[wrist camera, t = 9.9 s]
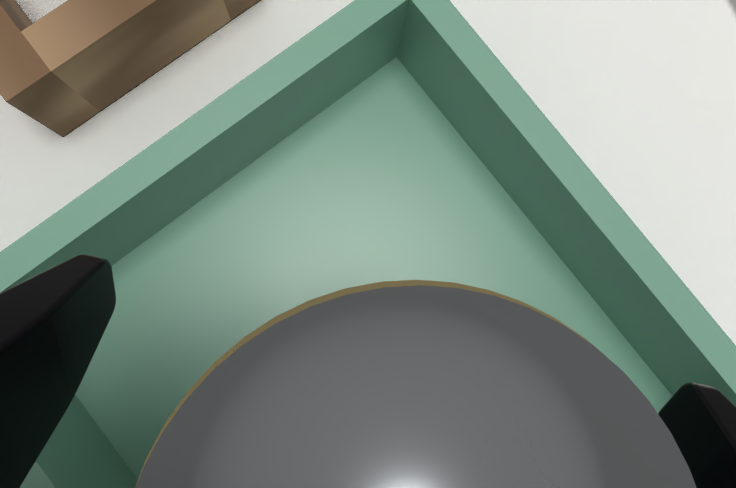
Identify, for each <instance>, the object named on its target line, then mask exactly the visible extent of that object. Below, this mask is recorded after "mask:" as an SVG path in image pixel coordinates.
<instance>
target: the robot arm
mask: <svg viewBox="0 0 736 488" xmlns="http://www.w3.org/2000/svg"><path fill="white" fill-rule="evenodd" d="M115 305H116V292H115V285H114V278H113V271H112V266H111V263H110V262H109V260H107V259H105V258H101V257H96V256H91V255H86V254H81V255H77V256H75V257H73V258H71V259H69V260H67V261H65V262H63V263H61V264H59V265H56V266H54V267H52V268H50V269H48V270H46V271H44V272H42V273H40V274H38V275H36V276H34V277H32V278H30V279H28V280H26V281H24V282H22V283H20V284H18V285H16V286H14V287H12V288H10V289H8V290H5V291H3V292H1V293H0V488H20V486H21V485H22V483H23V481H24V480H25V478H26V476H27V475H28V473H29V471H30V470H31V468H32V467H33V465H34V463H35V462H36V460H37V458H38V457H39V455H40V453H41V452H42V450H43V448H44V447H45V445H46V443H47V442H48V440H49V439H50V437H51V435H52V434H53V432H54V430H55V429H56V427H57V425H58V424H59V422H60V420H61V419H62V417H63V415H64V414H65V412H66V410H67V409H68V407H69V405H70V403H71V402H72V400H73V398H74V396H75V394H76V392H77V390H78V388H79V386H80V384H81V381H82V379H83V377H84V375H85V373H86V371H87V368H88V366H89V364H90V362H91V360H92V358H93V355H94V353H95V351H96V349H97V347H98V345H99V342H100V340H101V338H102V336H103V334H104V332H105V329H106V327H107V325H108V323H109V321H110V319H111V316H112V314H113V312H114V309H115ZM658 415H659V416H660V417H661V419H662V420H663V422H664V423H665V425H666V426H667V428H668V429H669V431H670V432H671V434H672V436H673V438H674V440H675V441H676V443H677V445H678V447H679V449H680V451H681V453H682V455H683V457H684V459H685V461H686V463H687V465H688V467H689V469H690V471H691V474H692V477H693V479H694V482H695V485H696V487H697V488H736V407H735V406H734V405H733V404H732V403H731V402H730V401H729V400H728V399H727V398H726V397H725V396H724V395H723V394H722V393H721V392H720V391H719V390H717V389H716V388H714V387H711V386H707V385H702V384H698V383H693V382H687V383H685V384H683V385H682V386H681V387H680V388H679V389H678V390H677V391H676V392H675V393H674V395H673V396H672V397H671V398H670V399H669V400H668V401H667V403H666V404H665V405H664V406H663V407H662V408H661V410H660V411H659V413H658Z"/></svg>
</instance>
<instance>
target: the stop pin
mask: <svg viewBox="0 0 736 488" xmlns="http://www.w3.org/2000/svg"><path fill="white" fill-rule="evenodd" d="M135 488H697V487H696V485H695V482H694V479H693V477H692V474H691V471H690V469H689V467H688V465H687V463H686V461H685V459H684V457H683V455H682V453H681V451H680V449H679V447H678V445H677V443H676V441H675V440H674V438H673V436H672V434H671V432H670V431H669V429H668V428H667V426H666V425H665V423H664V422H663V420H662V419H661V417H660V416H659V415H658V413H657V412H656V410H655V409H654V407H653V406H652V404H651V403H650V401H649V400H648V399H647V398H646V397H645V396H644V394H643V393H642V392H641V391H640V390H639V389H638V388H637V386H636V385H635V384H634V383H633V382H632V381H631V380H630V379H629V377H628V376H627V375H626V374H625V373H624V372H623V371H622V370H621V369H620V368H619V367H618V366H616V365H615V364H614V363H613V362H612V361H611V360H610V359H609V358H607V357H606V356H605V355H604V354H603V353H602V352H601V351H599V350H598V349H597V348H596V347H595V346H594V345H592V344H591V343H590V342H589V341H588V340H587V339H585V338H584V337H583V336H581V335H580V334H578V333H577V332H575V331H574V330H572V329H571V328H569V327H568V326H566V325H565V324H563V323H562V322H560V321H559V320H557V319H556V318H554V317H552V316H550V315H548V314H546V313H544V312H542V311H540V310H538V309H536V308H534V307H532V306H530V305H528V304H526V303H524V302H522V301H519V300H517V299H514V298H511V297H508V296H505V295H502V294H499V293H497V292H494V291H491V290H488V289H483V288H478V287H473V286H469V285H464V284H459V283H454V282H443V281H430V280H401V281H383V282H376V283H371V284H366V285H360V286H355V287H350V288H345V289H342V290H339V291H336V292H333V293H329V294H326V295H323V296H320V297H317V298H314V299H311V300H309V301H307V302H305V303H302V304H300V305H298V306H296V307H294V308H292V309H290V310H288V311H286V312H284V313H282V314H280V315H277V316H275V317H274V318H272V319H271V320H269V321H268V322H266V323H265V324H263V325H262V326H260V327H259V328H257V329H256V330H254V331H252V332H251V333H249V334H248V335H246V336H245V337H243V338H242V339H241V340H240V341H239V342H237V343H236V344H235V345H234V346H233V347H232V348H230V349H229V350H228V351H227V352H226V353H225V354H223V355H222V356H221V357H220V358H219V359H217V360H216V361H215V362H214V363H213V364H212V365H211V366H210V367H209V369H208V370H207V371H206V372H205V373H204V374H203V375H202V376H201V377H200V378H199V379H198V381H197V382H196V383H195V384H194V385H193V386H192V387H191V388H190V389H189V390H188V392H187V393H186V394H185V396H184V397H183V399H182V400H181V401H180V403H179V404H178V406H177V407H176V409H175V410H174V411H173V413H172V414H171V416H170V417H169V418H168V420H167V421H166V423H165V424H164V426H163V428H162V430H161V432H160V434H159V435H158V437H157V439H156V441H155V443H154V445H153V447H152V448H151V450H150V452H149V454H148V456H147V458H146V460H145V462H144V465H143V467H142V470H141V473H140V475H139V478H138V480H137V483H136V486H135Z"/></svg>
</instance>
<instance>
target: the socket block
mask: <svg viewBox="0 0 736 488" xmlns="http://www.w3.org/2000/svg"><path fill="white" fill-rule="evenodd" d="M258 1H260V0H68V1H66V2H65V3H63V4H62V5H60V6H59V7H57V8H56V9H54V10H53V11H51V12H50V13H48V14H47V15H45V16H44V17H42V18H41V19H39V20H38V21H36V22H35V23H32V22H31V21H30V19H29V18H28V17H27V15H26V14H25V13H24V11H23V10H22V9H21V8H20V6H19V5H18V4H17V2H16V1H15V0H0V94H1V96H2V97H3V98H4V100H5V101H6V102H7V103H9V104H11V105H12V106H14V107H16V108H17V109H19V110H20V111H22V112H24V113H25V114H27V115H28V116H30V117H32V118H33V119H35V120H36V121H38V122H40V123H41V124H43V125H45V126H46V127H48V128H49V129H51V130H53V131H54V132H56V133H57V134H59V135H61V136H62V137H64V136H65V135H67V134H68V133H69V132H71V131H72V130H74V129H75V128H77V127H78V126H80V125H81V124H82V123H84V122H85V121H87V120H88V119H90V118H91V117H93V116H94V115H95V114H97V113H98V112H100V111H101V110H103V109H104V108H106V107H107V106H108V105H110V104H111V103H113V102H114V101H116V100H117V99H118V98H120V97H121V96H123V95H124V94H126V93H127V92H129V91H130V90H131V89H133V88H134V87H136V86H137V85H139V84H140V83H142V82H143V81H144V80H146V79H147V78H149V77H150V76H152V75H153V74H155V73H156V72H157V71H159V70H160V69H162V68H163V67H165V66H166V65H168V64H169V63H170V62H172V61H173V60H175V59H176V58H178V57H179V56H181V55H182V54H183V53H185V52H186V51H188V50H189V49H191V48H192V47H193V46H195V45H196V44H198V43H199V42H201V41H202V40H204V39H205V38H206V37H208V36H209V35H211V34H212V33H214V32H215V31H217V30H218V29H219V28H221V27H222V26H224V25H225V24H227V23H228V22H230V21H231V20H232V19H234V18H235V17H237V16H238V15H240V14H241V13H243V12H244V11H245V10H247V9H248V8H250V7H251V6H253V5H254V4H255V3H257V2H258Z"/></svg>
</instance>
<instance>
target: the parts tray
mask: <svg viewBox="0 0 736 488" xmlns="http://www.w3.org/2000/svg"><path fill="white" fill-rule="evenodd" d="M81 254H86V255H91V256H96V257H101V258H105V259H107V260H109V262H110V263H111V266H112V271H113V278H114V285H115V292H116V305H115V309H114V312H113V314H112V316H111V319H110V321H109V323H108V325H107V327H106V329H105V332H104V334H103V336H102V338H101V340H100V342H99V345H98V347H97V349H96V351H95V353H94V355H93V358H92V360H91V362H90V364H89V366H88V368H87V371H86V373H85V375H84V377H83V379H82V381H81V384H80V386H79V388H78V390H77V392H76V394H75V396H74V398H73V400H72V402H71V403H70V405H69V407H68V409H67V410H66V412H65V414H64V415H63V417H62V419H61V420H60V422H59V424H58V425H57V427H56V429H55V430H54V432H53V434H52V435H51V437H50V439H49V440H48V442H47V443H46V445H45V447H44V448H43V450H42V452H41V453H40V455H39V457H38V458H37V460H36V462H35V463H34V465H33V467H32V468H31V470H30V471H29V473H28V475H27V476H26V478H25V480H24V481H23V483H22V485H21V486H20V488H135V486H136V483H137V480H138V478H139V475H140V473H141V470H142V467H143V465H144V462H145V460H146V458H147V456H148V454H149V452H150V450H151V448H152V447H153V445H154V443H155V441H156V439H157V437H158V435H159V434H160V432H161V430H162V428H163V426H164V424H165V423H166V421H167V420H168V418H169V417H170V416H171V414H172V413H173V411H174V410H175V409H176V407H177V406H178V404H179V403H180V401H181V400H182V399H183V397H184V396H185V394H186V393H187V392H188V390H189V389H190V388H191V387H192V386H193V385H194V384H195V383H196V382H197V381H198V379H199V378H200V377H201V376H202V375H203V374H204V373H205V372H206V371H207V370H208V369H209V367H210V366H211V365H212V364H213V363H214V362H215V361H216V360H217V359H219V358H220V357H221V356H222V355H223V354H225V353H226V352H227V351H228V350H229V349H230V348H232V347H233V346H234V345H235V344H236V343H237V342H239V341H240V340H241V339H242V338H243V337H245V336H246V335H248V334H249V333H251V332H252V331H254V330H256V329H257V328H259V327H260V326H262V325H263V324H265V323H266V322H268V321H269V320H271V319H272V318H274V317H275V316H277V315H280V314H282V313H284V312H286V311H288V310H290V309H292V308H294V307H296V306H298V305H300V304H302V303H305V302H307V301H309V300H311V299H314V298H317V297H320V296H323V295H326V294H329V293H333V292H336V291H339V290H342V289H345V288H350V287H355V286H360V285H366V284H371V283H376V282H383V281H401V280H430V281H443V282H454V283H459V284H464V285H469V286H473V287H478V288H483V289H488V290H491V291H494V292H497V293H499V294H502V295H505V296H508V297H511V298H514V299H517V300H519V301H522V302H524V303H526V304H528V305H530V306H532V307H534V308H536V309H538V310H540V311H542V312H544V313H546V314H548V315H550V316H552V317H554V318H556V319H557V320H559V321H560V322H562V323H563V324H565V325H566V326H568V327H569V328H571V329H572V330H574V331H575V332H577V333H578V334H580V335H581V336H583V337H584V338H585V339H587V340H588V341H589V342H590V343H591V344H592V345H594V346H595V347H596V348H597V349H598V350H599V351H601V352H602V353H603V354H604V355H605V356H606V357H607V358H609V359H610V360H611V361H612V362H613V363H614V364H615V365H616V366H618V367H619V368H620V369H621V370H622V371H623V372H624V373H625V374H626V375H627V376H628V377H629V379H630V380H631V381H632V382H633V383H634V384H635V385H636V386H637V388H638V389H639V390H640V391H641V392H642V393H643V394H644V396H645V397H646V398H647V399H648V400H649V401H650V403H651V404H652V406H653V407H654V409H655V410H656V412H657V413H659V411H660V410H661V408H662V407H663V406H664V405H665V404H666V403H667V401H668V400H669V399H670V398H671V397H672V396H673V395H674V393H675V392H676V391H677V390H678V389H679V388H680V387H681V386H682V385H683V384H685V383H687V382H693V383H698V384H702V385H707V386H711V387H714V388H716V389H717V390H719V391H720V392H721V393H722V394H723V395H724V396H725V397H726V398H727V399H728V400H729V401H730V402H731V403H732V404H733V405H734V406H735V407H736V346H735V344H734V343H733V342H732V341H731V339H730V338H729V337H728V336H727V335H726V333H725V332H724V331H723V330H722V329H721V327H720V326H719V325H718V324H717V323H716V321H715V320H714V319H713V318H712V317H711V315H710V314H709V313H708V312H707V311H706V309H705V308H704V307H703V306H702V304H701V303H700V302H699V301H698V300H697V298H696V297H695V296H694V295H693V294H692V292H691V291H690V290H689V289H688V288H687V286H686V285H685V284H684V283H683V282H682V280H681V279H680V278H679V277H678V276H677V274H676V273H675V272H674V271H673V270H672V268H671V267H670V266H669V265H668V263H667V262H666V261H665V260H664V259H663V257H662V256H661V255H660V254H659V253H658V251H657V250H656V249H655V248H654V247H653V245H652V244H651V243H650V242H649V241H648V239H647V238H646V237H645V236H644V235H643V233H642V232H641V231H640V230H639V228H638V227H637V226H636V225H635V224H634V222H633V221H632V220H631V219H630V218H629V216H628V215H627V214H626V213H625V212H624V210H623V209H622V208H621V207H620V206H619V204H618V203H617V202H616V201H615V200H614V198H613V197H612V196H611V195H610V194H609V192H608V191H607V190H606V189H605V187H604V186H603V185H602V184H601V183H600V181H599V180H598V179H597V178H596V177H595V175H594V174H593V173H592V172H591V171H590V169H589V168H588V167H587V166H586V165H585V163H584V162H583V161H582V160H581V159H580V157H579V156H578V155H577V154H576V152H575V151H574V150H573V149H572V148H571V146H570V145H569V144H568V143H567V142H566V140H565V139H564V138H563V137H562V136H561V134H560V133H559V132H558V131H557V130H556V128H555V127H554V126H553V125H552V124H551V122H550V121H549V120H548V119H547V118H546V116H545V115H544V114H543V113H542V111H541V110H540V109H539V108H538V107H537V105H536V104H535V103H534V102H533V101H532V99H531V98H530V97H529V96H528V95H527V93H526V92H525V91H524V90H523V89H522V87H521V86H520V85H519V84H518V83H517V81H516V80H515V79H514V78H513V76H512V75H511V74H510V73H509V72H508V70H507V69H506V68H505V67H504V66H503V64H502V63H501V62H500V61H499V60H498V58H497V57H496V56H495V55H494V54H493V52H492V51H491V50H490V49H489V48H488V46H487V45H486V44H485V43H484V42H483V40H482V39H481V38H480V37H479V35H478V34H477V33H476V32H475V31H474V29H473V28H472V27H471V26H470V25H469V23H468V22H467V21H466V20H465V19H464V17H463V16H462V15H461V14H460V13H459V11H458V10H457V9H456V8H455V7H454V5H453V4H452V3H451V2H450V0H354V1H353V2H352V3H350V4H349V5H347V6H346V7H345V8H343V9H342V10H340V11H339V12H338V13H336V14H335V15H333V16H332V17H331V18H329V19H328V20H326V21H325V22H323V23H322V24H321V25H319V26H318V27H316V28H315V29H314V30H312V31H311V32H309V33H308V34H307V35H305V36H304V37H302V38H301V39H300V40H298V41H297V42H295V43H294V44H293V45H291V46H290V47H288V48H287V49H285V50H284V51H283V52H281V53H280V54H278V55H277V56H276V57H274V58H273V59H271V60H270V61H269V62H267V63H266V64H264V65H263V66H262V67H260V68H259V69H257V70H256V71H255V72H253V73H252V74H250V75H249V76H247V77H246V78H245V79H243V80H242V81H240V82H239V83H238V84H236V85H235V86H233V87H232V88H231V89H229V90H228V91H226V92H225V93H224V94H222V95H221V96H219V97H218V98H217V99H215V100H214V101H212V102H211V103H209V104H208V105H207V106H205V107H204V108H202V109H201V110H200V111H198V112H197V113H195V114H194V115H193V116H191V117H190V118H188V119H187V120H186V121H184V122H183V123H181V124H180V125H179V126H177V127H176V128H174V129H173V130H171V131H170V132H169V133H167V134H166V135H164V136H163V137H162V138H160V139H159V140H157V141H156V142H155V143H153V144H152V145H150V146H149V147H148V148H146V149H145V150H143V151H142V152H141V153H139V154H138V155H136V156H135V157H133V158H132V159H131V160H129V161H128V162H126V163H125V164H124V165H122V166H121V167H119V168H118V169H117V170H115V171H114V172H112V173H111V174H110V175H108V176H107V177H105V178H104V179H103V180H101V181H100V182H98V183H97V184H95V185H94V186H93V187H91V188H90V189H88V190H87V191H86V192H84V193H83V194H81V195H80V196H79V197H77V198H76V199H74V200H73V201H72V202H70V203H69V204H67V205H66V206H65V207H63V208H62V209H60V210H59V211H57V212H56V213H55V214H53V215H52V216H50V217H49V218H48V219H46V220H45V221H43V222H42V223H41V224H39V225H38V226H36V227H35V228H34V229H32V230H31V231H29V232H28V233H27V234H25V235H24V236H22V237H21V238H19V239H18V240H17V241H15V242H14V243H12V244H11V245H10V246H8V247H7V248H5V249H4V250H3V251H1V252H0V293H1V292H3V291H5V290H8V289H10V288H12V287H14V286H16V285H18V284H20V283H22V282H24V281H26V280H28V279H30V278H32V277H34V276H36V275H38V274H40V273H42V272H44V271H46V270H48V269H50V268H52V267H54V266H56V265H59V264H61V263H63V262H65V261H67V260H69V259H71V258H73V257H75V256H77V255H81Z"/></svg>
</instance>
